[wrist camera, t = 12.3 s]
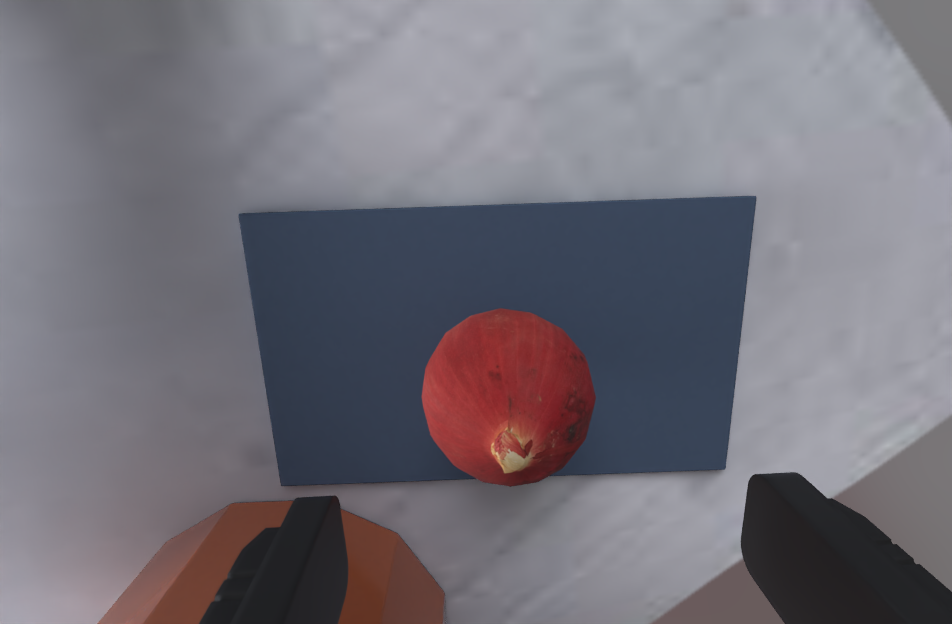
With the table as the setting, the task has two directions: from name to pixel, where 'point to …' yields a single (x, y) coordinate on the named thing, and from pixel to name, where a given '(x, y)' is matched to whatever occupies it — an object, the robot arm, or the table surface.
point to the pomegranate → (508, 397)
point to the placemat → (488, 288)
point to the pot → (229, 530)
